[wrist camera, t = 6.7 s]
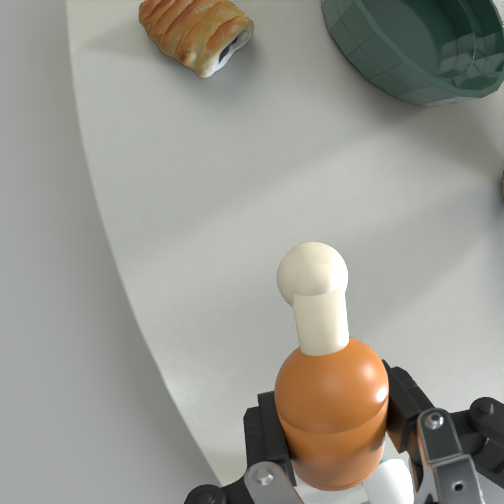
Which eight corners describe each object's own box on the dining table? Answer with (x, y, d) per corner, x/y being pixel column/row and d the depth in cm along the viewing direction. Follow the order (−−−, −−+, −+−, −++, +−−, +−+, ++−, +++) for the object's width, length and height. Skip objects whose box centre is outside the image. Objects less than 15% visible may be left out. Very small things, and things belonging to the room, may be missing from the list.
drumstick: (241, 248, 10) (241, 298, 7) (356, 223, 10) (413, 257, 6) (290, 450, 13) (301, 513, 10) (367, 430, 13) (391, 489, 9)
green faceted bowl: (290, 41, 21) (308, 7, 15) (351, -63, 18) (372, -95, 12) (447, 140, 24) (493, 139, 18) (478, 25, 21) (513, 11, 14)
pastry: (124, 35, 20) (110, 17, 16) (176, -18, 19) (170, -40, 15) (209, 86, 22) (207, 72, 18) (261, 30, 21) (267, 10, 17)
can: (357, 486, 37) (378, 542, 26) (364, 464, 36) (390, 526, 24) (396, 474, 38) (421, 525, 26) (406, 451, 36) (437, 506, 24)
